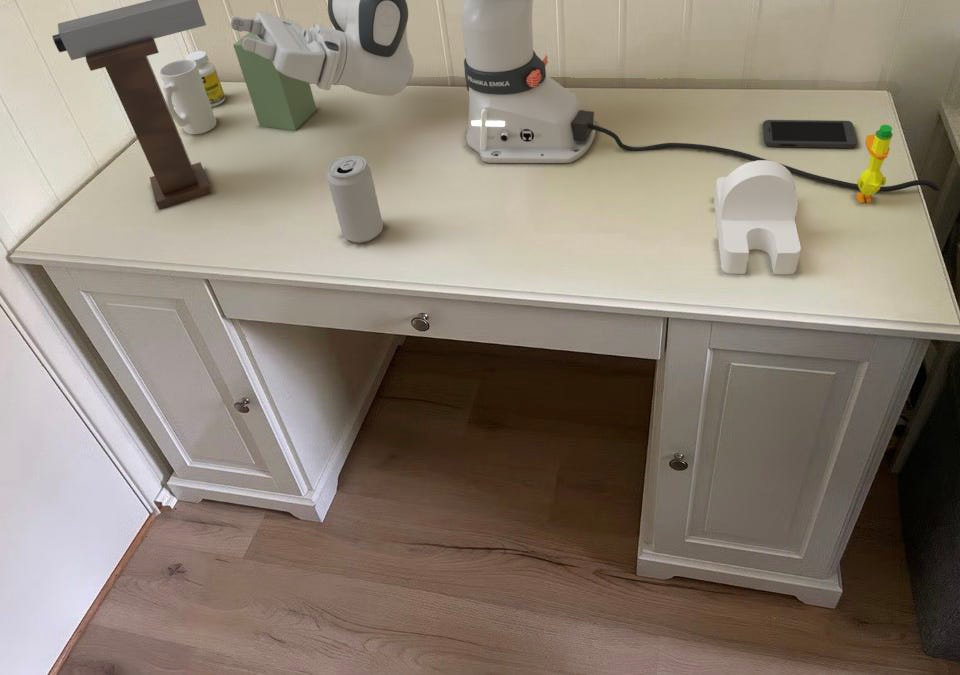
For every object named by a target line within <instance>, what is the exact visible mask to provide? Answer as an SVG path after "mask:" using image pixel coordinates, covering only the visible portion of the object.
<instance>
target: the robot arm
mask: <svg viewBox="0 0 960 675" xmlns="http://www.w3.org/2000/svg"><path fill="white" fill-rule="evenodd" d="M533 3H534V0H466V1H465V3H464V5H463V8H462V11H461V17H460V18H461V19H460V20H461V30H462V37H463V38H462V39H463V47H464V54H465V58H464V60H463V67H464V68H463V69H464V80H465V86H466V89H467V92H468V120H467V121H468V123H467V130H466V134H465V140H466V143H467V145H468V147H470V148H471V149H472V150H474V151H475V152H477V153H478V154H479V156H480V158H481V160H482V162H484V163H487V164H488V163H490V164H570V163H572V162H575V161H577V160H579V159H580V158H581V157H582V156H584V154H586V152H588V150H589V149H590V147H591V146H592V144H593V142H594V140H595V137H596V133H597V132H598V133H603V134H605V135H607V136H609V137H611V138H612V139H614V141H615V143H616V144H617V146H618V147H619V148H620V149H622V150H625V151H628V152H646V151H647V152H648V151H655V150H656V151H657V150H661V149H671V148H672V149H673V148H674V149H692V150H702V151H708V152H715V153H720V154H726V155H730V156H735V157H739V158H741V159H746V160H748V161H751V162H753V161H757V160H768V161H770V160H769V159H766V158H763V157H759V156H756V155H752V154H750V153H746V152H743V151H739V150H735V149H730V148H725V147H721V146H720V147H719V146H715V145H707V144H701V143H700V144H699V143H689V142H688V143H687V142H664V143H657V144H652V145H646V146H630V145H627V144H625V143H623V142H622V139H621V138H620V137H619V136H618V135H617V134H616V133H615V132H614V131H612V130H610V129H607V128H605V127H602V126H599V125H596V124H595V111H591V110H583V109H582V108H581V104H580V101H579V98H578V97H577V95H575V94H574V93H573V92H572V91H570V90H568V89H567V88H566V87H564V86H562V85H561V84H560V83H558V82H557V81H555V79H553V78H551V77H550V76H549V75H548V74H547V73H546V72H547V71H546V70H547V69H546V66H547V65H548V55H545V56H544V58H543V59H541V58H540V57H539V56H538V55H537V53H536V51H535V50H534V38H533V37H534V36H533V35H534V34H533V6H534V4H533ZM327 13H328V18H329V21H330V23H331V25H332V26H333V28H332V27H329V26H324V25H321V24H318V23H315V24H312V25H311V26H310V28H309V29H305V28H304V29H303V27H302V26H301V25H300V24H299V23H297V22H295V21H293V20H290V19H287V18H284V17H281V16H278V15H276V14H273V13H269V12H265V11H257V12H256V13H255V16H254V18H252V17H240V16H236V15H232V17H231V18H230V22H229V25H230V27H231V29H232V30H233V31H237V32H241V33H243V32H248V33H249V32H251V33H252V34H255V35H256V36H257V38H258V40H259V41H258V40H255V38H253V37H248V36H245V35H243V36H242V37H241V38H242V42H241V45H242V47H243V49H244V50H247V51H251V52H254V53H256V54H258V55H260V56H262V57H264V58H266V59H270V60H271V61H272V63H273V65H274V66H275V68H276V70H277V71H279V72H280V73H282V74H284V75H286V76H289V77H292V78H295V79H298V80H301V81H305V82H308V83H309V84H312V85H315V86H316V87H317V88H318V89H321V90H324V91H331V88H332V86H345V87H348V88H350V89H351V90H353V91H356V92H359V93H365V94H369V95H373V96H374V95H375V96H381V97H393V96H396V95H398V94H400V93H402V92H403V91H404V89H406V87H407V86H408V84H409V83H410V81H411V79H412V77H413V73H414V66H415V64H414V58H413V55H412V54H411V51H410V48H409V42H408V30H407V29H408V28H407V27H408V22H409V6H408V3H407V0H327ZM780 164H781V165H783V166H785V167H786V168H787V169H788V170H789V171H790V173H791V174H793V175H797V176H799V177H802V178H806V179H809V180H812V181H816V182H821V183H825V184H828V185H832V186H837V187H842V188H845V189H846V188H847V189H852V190H857V191H860V189H859V187H858V184H857V183H853V182H850V181H849V182H848V181H843V180H839V179H834V178H830V177H825V176H821V175H817V174H813V173H811V172H807V171H805V170H801V169H797V168H795V167H792V166H789V165H786V164H783V163H780ZM916 186H926V187H929V188H931V189H932V190H933V191H937V192H939V191H941V190H942V189H941V188H940V186H939V185H938V184H937V183H935V182H933V181H931V180H928V179H915V180H910V181H906V182H902V183H899V184H894V185H887V186H886V185H884V186H883V185H881V187H880V190H878V191H877V192H876V193H889V192H897V191H899V190H904V189H907V188H911V187H916Z"/></svg>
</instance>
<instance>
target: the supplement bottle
mask: <svg viewBox="0 0 960 675" xmlns="http://www.w3.org/2000/svg"><path fill="white" fill-rule="evenodd" d="M185 59H189V60H193V61H195V62H196V64H197V67H198V70H199V73H200V75H201V78H202V81H203V84H204V87H205V90H206V93H207V96H208V99H209V102H210V104H211V107H212V108H213V107H217V106H220V105H221V104H222V103H224V102H225V100H226V96H225V92H224V89H223V86H222V83H221V80H220V78H219V75H218V71H217V69H216V66H215V64H214V63H213V62H211V61H209V56H208V54H207V52H206V51H203V50H197V51H193V52H190V53H189V54H187V55H186V56H185Z"/></svg>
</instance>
